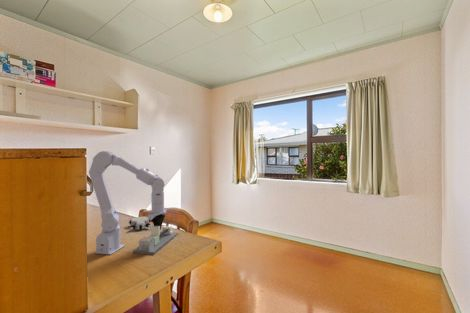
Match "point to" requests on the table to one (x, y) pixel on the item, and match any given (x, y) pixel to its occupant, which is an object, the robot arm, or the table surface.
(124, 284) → the table surface
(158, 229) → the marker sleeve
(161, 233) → the dark grey bar
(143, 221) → the robot toy
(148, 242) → the connector
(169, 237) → the board
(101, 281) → the table surface
